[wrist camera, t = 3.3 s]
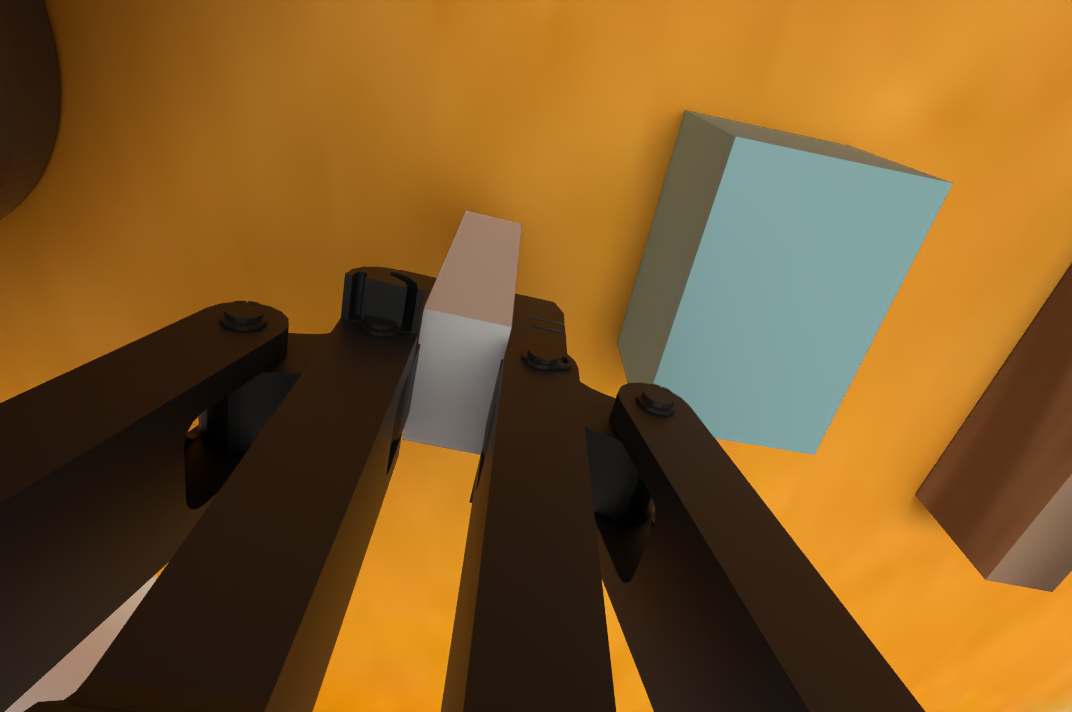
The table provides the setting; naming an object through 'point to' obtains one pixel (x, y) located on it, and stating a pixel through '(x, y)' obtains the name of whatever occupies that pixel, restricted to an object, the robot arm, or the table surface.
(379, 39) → the table surface
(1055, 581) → the board
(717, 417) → the block
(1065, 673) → the table surface
